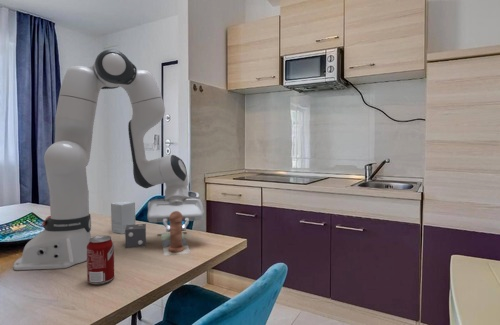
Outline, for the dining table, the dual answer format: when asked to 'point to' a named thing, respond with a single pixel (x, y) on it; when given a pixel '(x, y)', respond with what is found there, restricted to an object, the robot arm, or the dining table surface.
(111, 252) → the soda can
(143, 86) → the robot arm
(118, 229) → the supplement box
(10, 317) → the dining table surface
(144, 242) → the die
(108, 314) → the dining table surface
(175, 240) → the pawn
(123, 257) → the dining table surface
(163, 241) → the game board
